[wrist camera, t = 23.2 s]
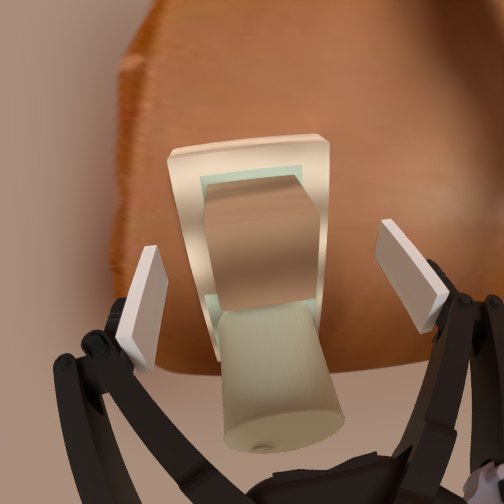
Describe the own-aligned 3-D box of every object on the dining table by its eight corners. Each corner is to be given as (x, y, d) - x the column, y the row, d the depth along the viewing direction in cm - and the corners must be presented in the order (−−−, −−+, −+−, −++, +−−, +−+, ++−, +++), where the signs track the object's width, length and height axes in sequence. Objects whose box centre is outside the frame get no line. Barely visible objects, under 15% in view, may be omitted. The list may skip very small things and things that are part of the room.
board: (173, 149, 21) (166, 160, 19) (316, 133, 21) (329, 142, 19) (217, 341, 33) (217, 362, 31) (310, 328, 34) (317, 347, 31)
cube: (207, 184, 20) (203, 227, 15) (294, 174, 20) (320, 213, 15) (219, 256, 23) (221, 311, 18) (295, 246, 23) (315, 298, 19)
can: (201, 339, 29) (202, 453, 19) (250, 275, 25) (272, 409, 15) (276, 361, 32) (294, 460, 22) (330, 309, 28) (371, 418, 18)
